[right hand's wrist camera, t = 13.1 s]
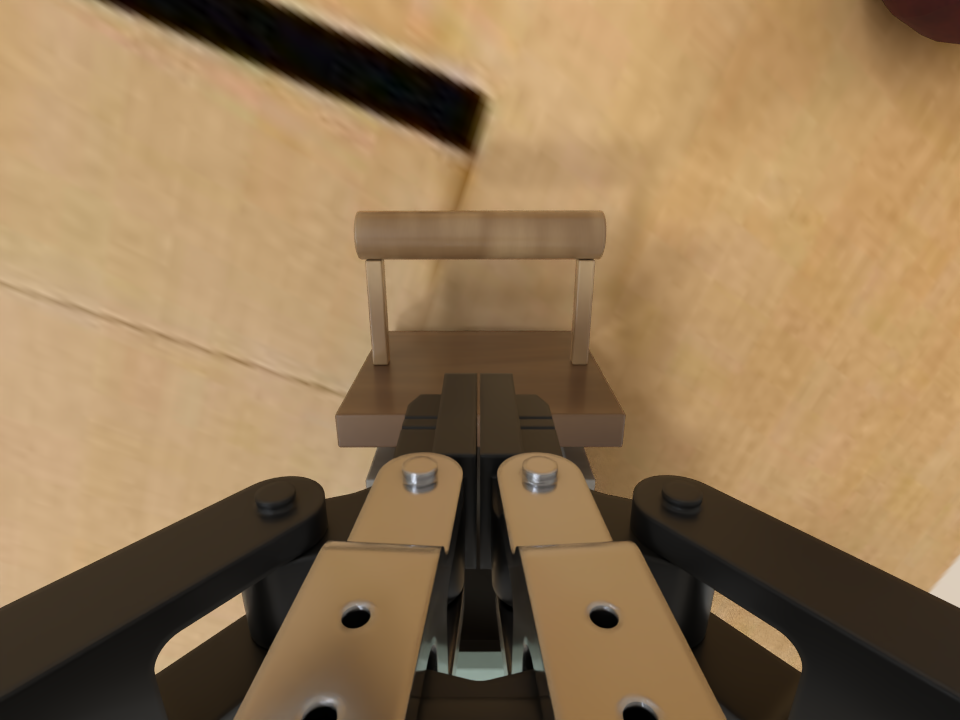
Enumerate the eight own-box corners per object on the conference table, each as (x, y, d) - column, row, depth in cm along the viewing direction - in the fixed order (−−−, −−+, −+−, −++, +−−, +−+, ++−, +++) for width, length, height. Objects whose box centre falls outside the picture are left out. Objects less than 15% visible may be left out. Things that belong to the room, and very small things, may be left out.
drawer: (372, 201, 23) (313, 227, 15) (588, 201, 23) (646, 226, 15) (402, 633, 32) (375, 798, 24) (559, 633, 32) (586, 797, 24)
